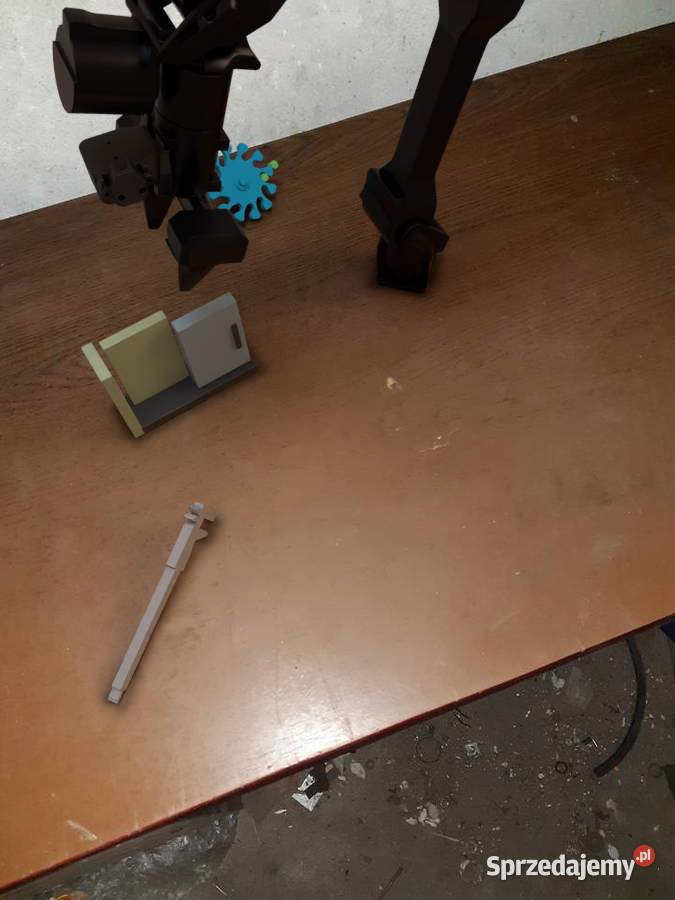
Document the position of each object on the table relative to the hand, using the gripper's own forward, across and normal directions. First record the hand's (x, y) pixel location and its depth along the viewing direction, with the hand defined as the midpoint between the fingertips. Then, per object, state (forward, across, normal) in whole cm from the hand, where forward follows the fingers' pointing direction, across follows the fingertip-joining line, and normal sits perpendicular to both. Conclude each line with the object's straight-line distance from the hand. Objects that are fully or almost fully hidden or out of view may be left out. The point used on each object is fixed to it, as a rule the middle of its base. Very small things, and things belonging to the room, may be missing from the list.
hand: (168, 258), depth 69 cm
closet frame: (+16, +4, +4) cm, 17 cm away
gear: (+10, -21, +20) cm, 30 cm away
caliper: (+21, +27, -7) cm, 35 cm away
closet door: (+14, +4, +7) cm, 16 cm away
